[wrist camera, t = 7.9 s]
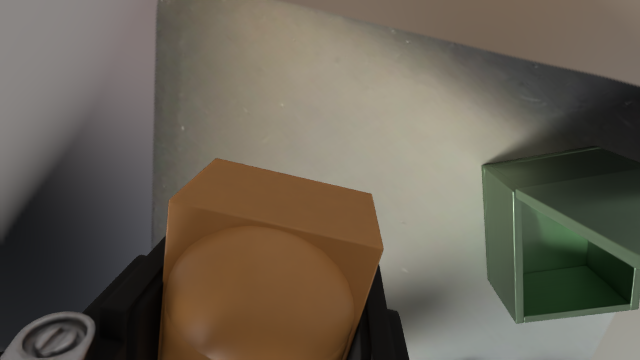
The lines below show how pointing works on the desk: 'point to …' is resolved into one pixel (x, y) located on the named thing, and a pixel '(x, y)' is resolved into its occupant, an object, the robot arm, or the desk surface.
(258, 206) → the bread
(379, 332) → the robot arm
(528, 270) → the bread box
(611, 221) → the lid
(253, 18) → the desk surface
